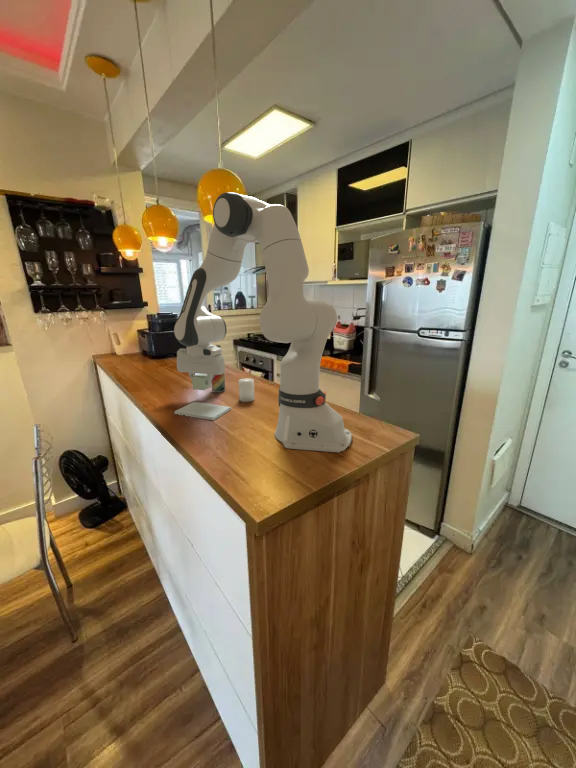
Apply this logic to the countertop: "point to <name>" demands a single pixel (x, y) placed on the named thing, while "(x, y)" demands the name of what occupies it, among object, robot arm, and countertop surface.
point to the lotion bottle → (218, 381)
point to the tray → (203, 410)
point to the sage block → (200, 382)
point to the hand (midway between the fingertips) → (201, 384)
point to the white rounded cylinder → (246, 390)
